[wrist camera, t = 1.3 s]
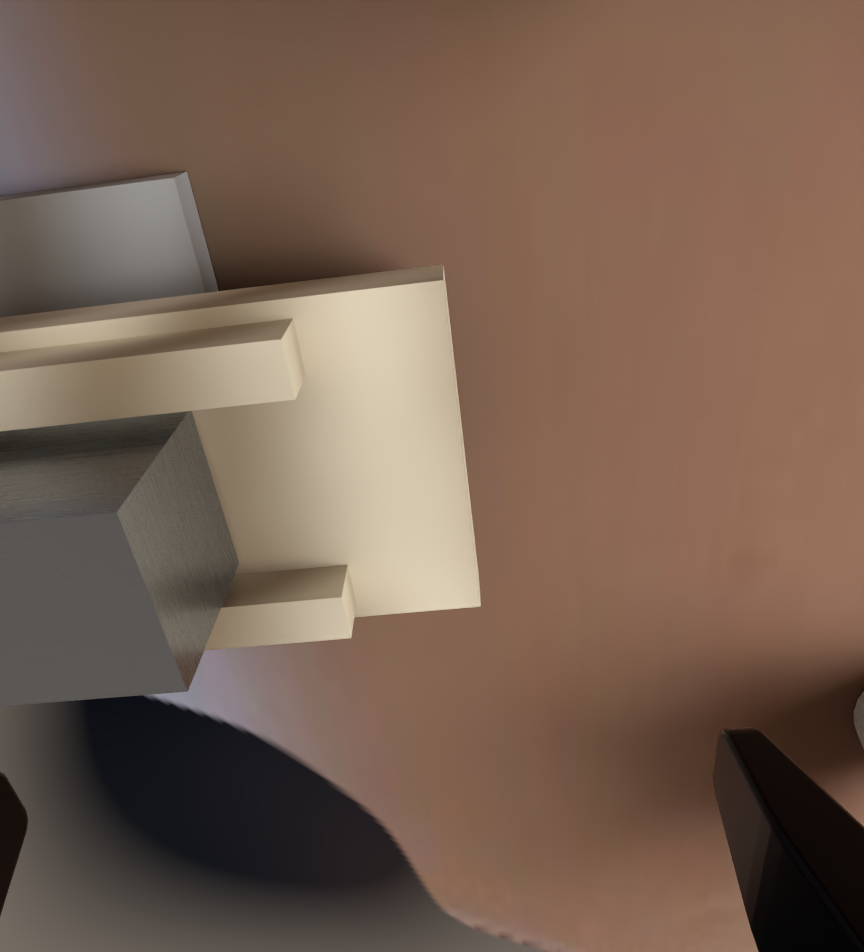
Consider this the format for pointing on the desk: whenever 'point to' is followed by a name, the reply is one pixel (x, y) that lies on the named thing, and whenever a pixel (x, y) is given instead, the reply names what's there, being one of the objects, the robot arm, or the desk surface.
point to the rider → (108, 558)
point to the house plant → (859, 718)
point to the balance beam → (253, 400)
